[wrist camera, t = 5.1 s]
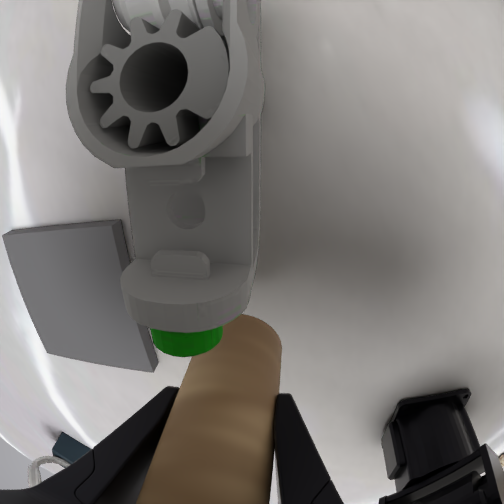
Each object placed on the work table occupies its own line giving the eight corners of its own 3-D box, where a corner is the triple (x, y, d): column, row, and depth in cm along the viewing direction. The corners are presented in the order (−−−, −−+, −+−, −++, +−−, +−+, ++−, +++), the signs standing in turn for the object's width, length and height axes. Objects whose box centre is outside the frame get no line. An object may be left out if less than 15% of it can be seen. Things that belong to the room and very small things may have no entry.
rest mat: (120, 219, 16) (111, 225, 15) (158, 362, 20) (153, 372, 19) (11, 230, 17) (2, 235, 16) (53, 345, 21) (47, 353, 20)
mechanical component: (212, 213, 15) (109, 352, 6) (210, 8, 11) (101, -112, 2) (274, 215, 15) (248, 372, 6) (275, 4, 11) (248, -147, 1)
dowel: (280, 314, 10) (262, 524, 4) (282, 376, 11) (266, 549, 5) (194, 312, 11) (111, 495, 4) (207, 373, 12) (156, 532, 5)
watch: (49, 423, 28) (11, 485, 18) (104, 456, 29) (73, 524, 18) (51, 437, 30) (18, 493, 20) (100, 467, 31) (73, 527, 21)
